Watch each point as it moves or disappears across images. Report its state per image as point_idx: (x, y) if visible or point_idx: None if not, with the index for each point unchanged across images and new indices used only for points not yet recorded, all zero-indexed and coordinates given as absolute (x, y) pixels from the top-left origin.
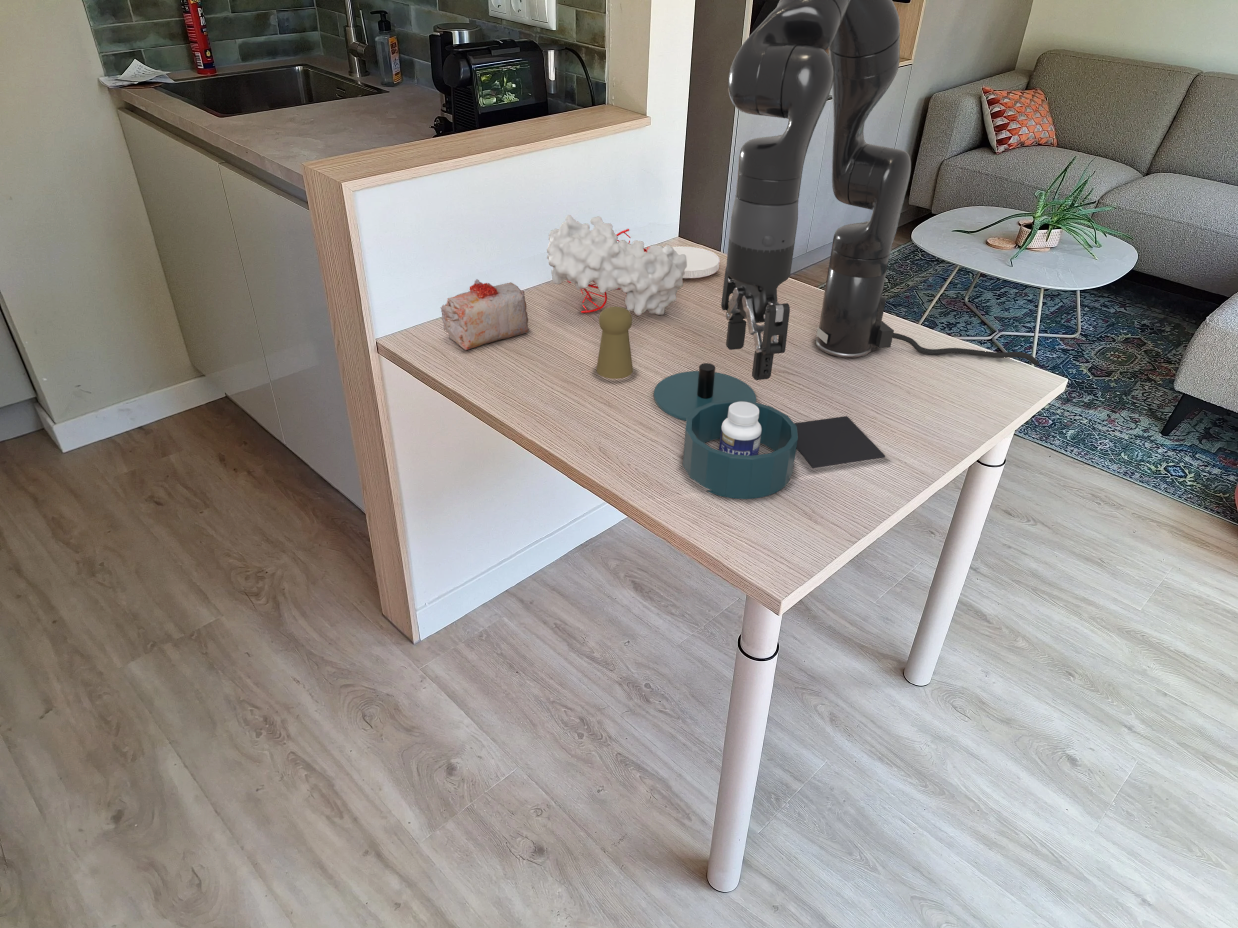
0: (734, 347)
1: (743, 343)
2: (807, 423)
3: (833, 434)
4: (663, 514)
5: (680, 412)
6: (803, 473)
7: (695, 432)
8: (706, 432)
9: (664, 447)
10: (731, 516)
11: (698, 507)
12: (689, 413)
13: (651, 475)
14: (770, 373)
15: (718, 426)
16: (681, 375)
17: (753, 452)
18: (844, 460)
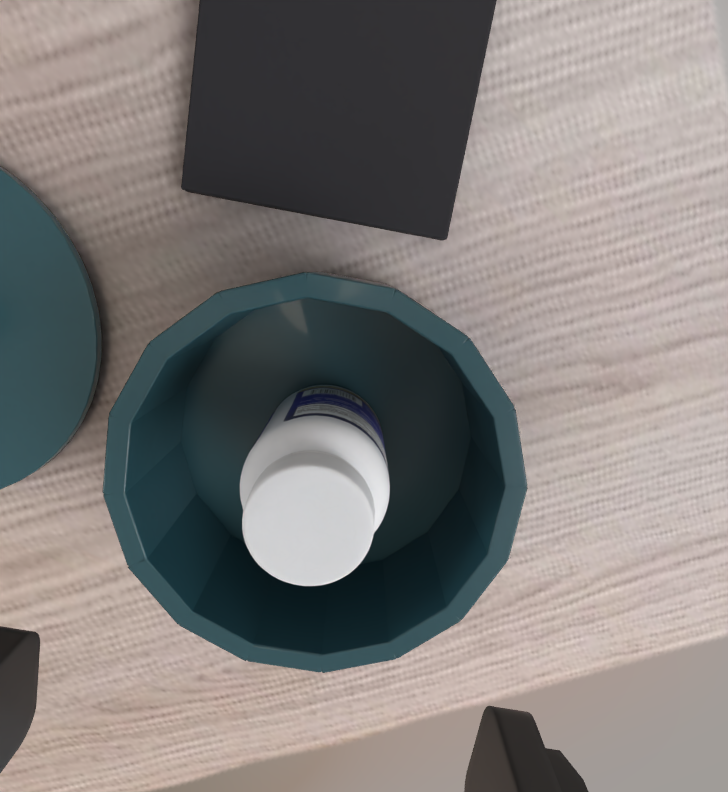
0: (26, 693)
1: (14, 652)
2: (206, 75)
3: (310, 29)
4: (427, 694)
5: (4, 461)
6: (438, 271)
7: (192, 544)
8: (173, 478)
9: None
10: (511, 563)
11: None
12: (19, 438)
13: None
14: (583, 785)
15: (165, 438)
16: None
17: (385, 453)
18: (465, 110)
